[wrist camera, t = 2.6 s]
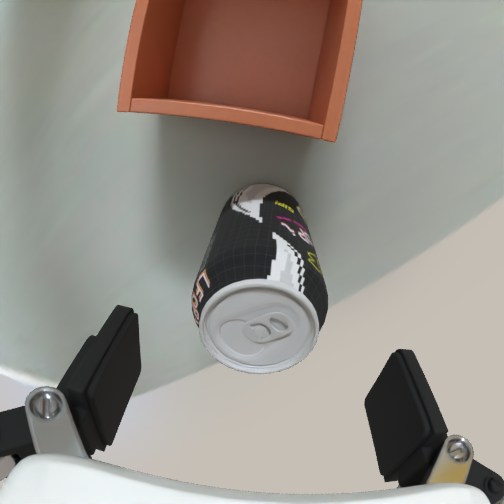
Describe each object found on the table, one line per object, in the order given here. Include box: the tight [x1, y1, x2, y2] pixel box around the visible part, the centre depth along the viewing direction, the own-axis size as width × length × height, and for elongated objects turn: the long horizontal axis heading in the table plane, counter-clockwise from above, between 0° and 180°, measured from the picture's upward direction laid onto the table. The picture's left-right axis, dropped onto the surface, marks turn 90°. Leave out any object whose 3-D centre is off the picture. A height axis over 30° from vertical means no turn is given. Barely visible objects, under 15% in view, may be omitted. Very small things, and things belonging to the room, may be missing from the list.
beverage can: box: [192, 184, 328, 374], centre depth 17 cm, size 6×6×12 cm
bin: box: [117, 0, 362, 143], centre depth 14 cm, size 10×10×7 cm
